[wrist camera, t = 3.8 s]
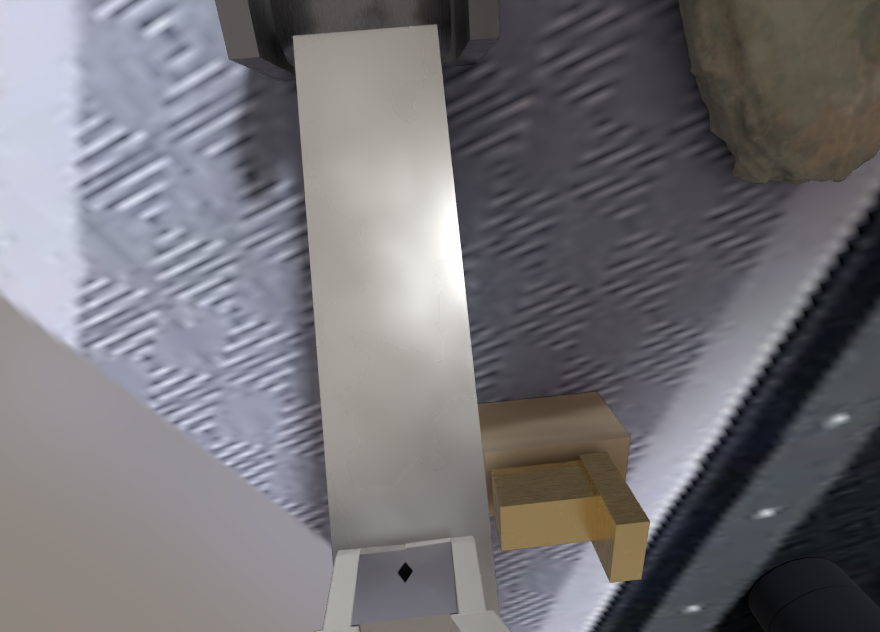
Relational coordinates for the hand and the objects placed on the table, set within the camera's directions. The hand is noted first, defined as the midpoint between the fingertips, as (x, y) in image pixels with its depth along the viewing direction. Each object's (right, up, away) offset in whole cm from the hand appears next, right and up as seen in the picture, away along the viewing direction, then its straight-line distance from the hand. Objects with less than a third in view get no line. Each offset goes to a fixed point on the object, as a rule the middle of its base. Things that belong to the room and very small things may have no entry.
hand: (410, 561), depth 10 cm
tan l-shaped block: (+5, -2, +9) cm, 11 cm away
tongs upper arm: (-1, +4, +4) cm, 6 cm away
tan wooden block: (+6, 0, +13) cm, 14 cm away
